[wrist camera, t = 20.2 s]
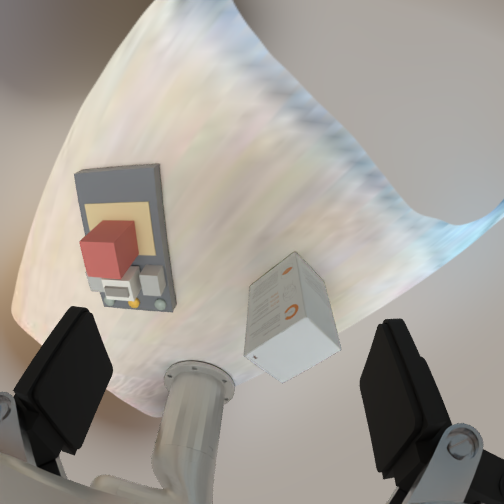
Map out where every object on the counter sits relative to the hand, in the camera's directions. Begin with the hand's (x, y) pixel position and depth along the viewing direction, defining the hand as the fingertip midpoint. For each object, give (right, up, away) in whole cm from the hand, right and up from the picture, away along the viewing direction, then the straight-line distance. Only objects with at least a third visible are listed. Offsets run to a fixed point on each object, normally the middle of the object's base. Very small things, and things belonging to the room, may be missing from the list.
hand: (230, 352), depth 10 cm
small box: (+5, -1, +32) cm, 33 cm away
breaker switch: (-16, 0, +30) cm, 34 cm away
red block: (-16, +5, +28) cm, 32 cm away
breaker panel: (-16, +5, +30) cm, 34 cm away
